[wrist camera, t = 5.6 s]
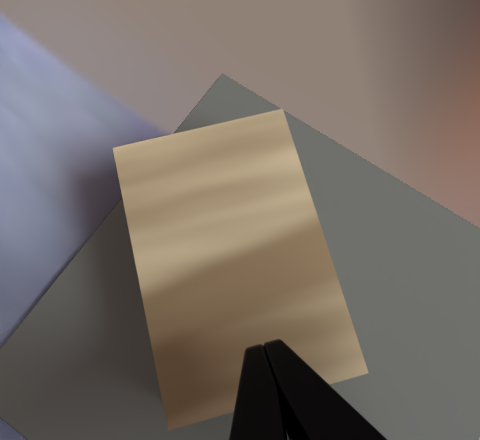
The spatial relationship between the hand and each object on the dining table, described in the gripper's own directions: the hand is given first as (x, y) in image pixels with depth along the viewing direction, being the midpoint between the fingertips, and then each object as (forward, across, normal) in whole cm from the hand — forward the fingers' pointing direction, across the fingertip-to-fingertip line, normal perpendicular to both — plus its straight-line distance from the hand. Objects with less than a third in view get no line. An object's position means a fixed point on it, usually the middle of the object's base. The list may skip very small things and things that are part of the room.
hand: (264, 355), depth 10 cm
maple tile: (+2, 0, +4) cm, 5 cm away
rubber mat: (+5, -1, +4) cm, 7 cm away
